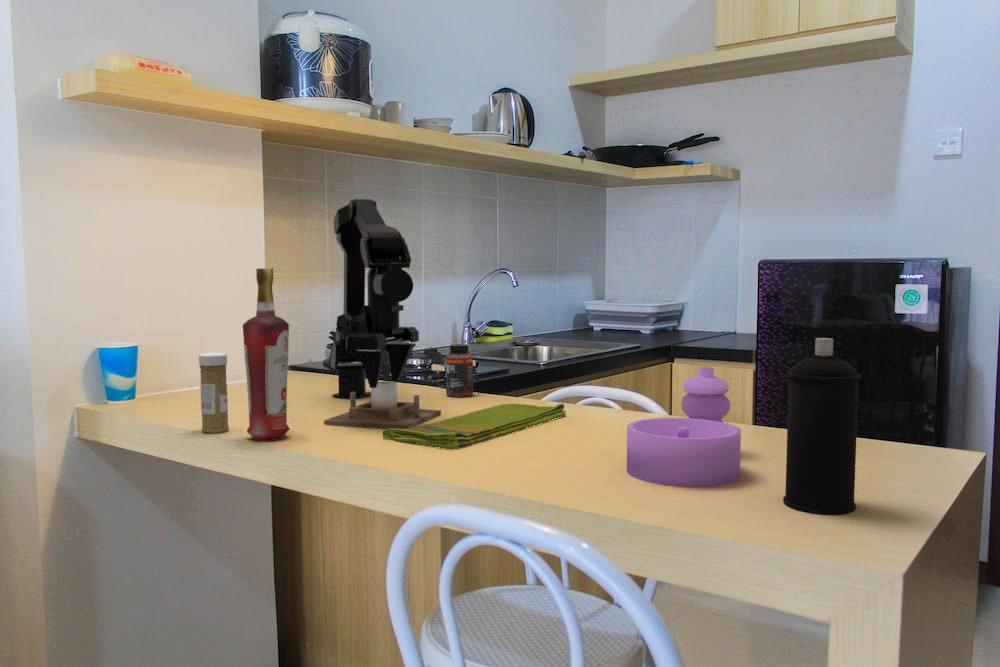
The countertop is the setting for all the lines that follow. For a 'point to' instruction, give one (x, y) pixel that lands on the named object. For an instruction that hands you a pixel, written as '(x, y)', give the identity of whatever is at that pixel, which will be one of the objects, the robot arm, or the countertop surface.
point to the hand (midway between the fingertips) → (384, 384)
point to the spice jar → (213, 392)
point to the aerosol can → (821, 433)
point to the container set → (688, 440)
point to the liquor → (266, 365)
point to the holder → (383, 415)
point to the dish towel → (475, 426)
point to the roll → (384, 395)
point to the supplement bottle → (459, 371)
